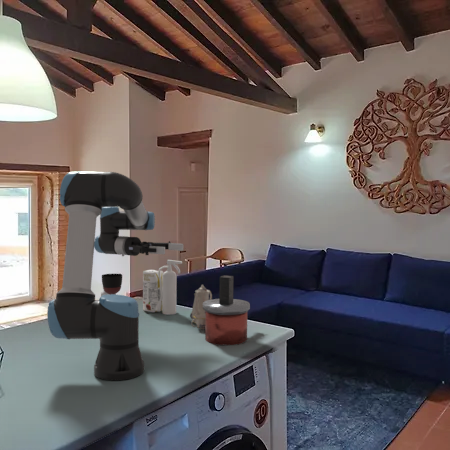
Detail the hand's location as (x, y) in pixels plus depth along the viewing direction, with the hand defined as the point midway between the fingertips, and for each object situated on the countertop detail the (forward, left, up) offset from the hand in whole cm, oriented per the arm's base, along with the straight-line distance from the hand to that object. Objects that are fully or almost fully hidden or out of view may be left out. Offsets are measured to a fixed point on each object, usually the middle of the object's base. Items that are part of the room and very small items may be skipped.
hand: (174, 248), depth 183 cm
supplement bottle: (+17, +45, -34) cm, 59 cm away
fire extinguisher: (+30, +21, -34) cm, 50 cm away
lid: (+6, -20, -22) cm, 30 cm away
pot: (+11, -20, -34) cm, 41 cm away
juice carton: (+31, +30, -34) cm, 55 cm away
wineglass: (+7, +35, -34) cm, 50 cm away
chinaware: (+24, -3, -34) cm, 42 cm away
